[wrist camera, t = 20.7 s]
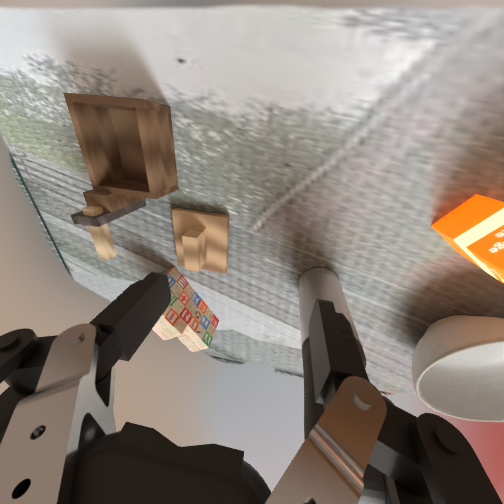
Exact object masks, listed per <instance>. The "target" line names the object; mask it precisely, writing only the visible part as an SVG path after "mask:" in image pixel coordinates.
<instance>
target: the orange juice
mask: <svg viewBox="0 0 504 504" xmlns="http://www.w3.org/2000/svg"><path fill="white" fill-rule="evenodd" d="M431 227H432V228H433V229H434V230H436V231H437V232H438V233H439V234H440V235H441V236H442V237H443V238H444V239H445V240H446V241H447V242H448V243H449V244H450V245H451V246H452V247H453V248H454V249H455V250H456V251H457V252H458V253H459V254H461V255H462V256H464V257H465V258H467V259H468V260H470V261H471V262H473V263H474V264H476V265H477V266H479V267H480V268H481V269H483V270H484V271H485V272H487V273H488V274H490V275H491V276H493V277H494V278H496V279H497V280H499V281H501V282H502V283H504V202H502V201H498V200H495V199H491V198H488V197H485V196H481V195H478V194H476V195H474V196H473V197H471V198H470V199H469V200H467V201H466V202H464V203H463V204H461V205H460V206H459V207H457V208H456V209H454V210H453V211H451V212H450V213H448V214H447V215H446V216H444V217H443V218H441V219H440V220H438V221H437V222H436V223H434V224H433V225H431Z"/></svg>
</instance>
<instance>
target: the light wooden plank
mask: <svg viewBox="0 0 504 504" xmlns="http://www.w3.org/2000/svg"><path fill="white" fill-rule="evenodd" d="M82 211H83V214H84V215H88V216H96V215H99V214H101V213H104V212H103V208H102V207H100V206H93V205H91V206H88V207H85V208H82ZM88 228H89V230H90V233H91V236H92V239H93V242H94V244H95V247H96V250H97V253H98V255H99V258H100V259H104V260H110V259H112V258H113V257H115V256H116V255H117V254H116V251H115V248H114V244H113V241H112V238H111V235H110V231H109V228H108V225H107V223H106V224H104V225H102V226H100V227H94V226H88Z"/></svg>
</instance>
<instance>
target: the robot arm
mask: <svg viewBox="0 0 504 504" xmlns="http://www.w3.org/2000/svg"><path fill="white" fill-rule="evenodd" d="M298 285H299V306H300V325H301V341H302V357H303V369H304V433H305V434H304V435H305V441H304V443H303V444H302V446H301V447H300V449H299V450H298V452H297V454H296V455H295V457H294V459H293V460H292V462H291V463H290V465H289V466H288V468H287V469H286V471H285V473H284V474H283V476H282V477H281V479H280V481H279V482H278V484H277V485H276V487H275V488H274V490H273V491H272V493H271V491H270V489H269V488H268V486H267V484H266V483H265V481H264V480H263V478H262V477H261V476H260V475H259V473H258V472H257V471H256V470H255V469H254V468H253V467H252V466H251V465H250V464H248V463H247V462H245V461H244V460H243V457H244V451H241V450H237V449H233V448H229V447H225V446H221V445H217V444H206V445H196V446H187V447H179V446H177V445H175V444H174V443H172V442H171V441H170V440H169V439H167V438H166V437H164V436H163V435H162V434H160V433H159V432H158V431H156V430H155V429H153V428H149V427H145V426H141V425H137V424H133V423H129V422H126V423H125V425H124V427H123V428H122V430H121V431H119V432H116V425H115V419H114V415H113V400H114V381H115V366H114V365H115V363H116V362H117V361H118V360H119V359H120V360H125V361H129V360H130V359H131V357H132V356H133V354H134V353H135V352H136V350H137V349H138V347H139V346H140V345H141V343H142V342H143V341H144V339H145V338H146V336H147V335H148V334H149V332H150V331H151V330H152V328H153V327H154V325H155V324H156V323H157V321H158V320H159V319H160V317H161V316H162V314H163V313H164V312H165V310H166V309H167V308H168V306H169V304H170V301H171V291H170V286H169V281H168V276H167V275H166V274H161V273H155V272H151V273H150V274H148V275H147V276H146V277H145V278H144V279H143V280H139V281H137V282H136V283H134V284H132V285H130V286H129V287H128V288H127V289H126V290H125V291H124V292H123V293H122V294H120V295H119V296H118V297H117V298H116V300H114V301H113V302H112V303H111V304H110V305H108V306H107V307H106V308H105V309H104V310H103V311H102V312H101V313H100V314H99V315H97V316H96V318H94V319H93V320H92V321H91V322H90V323H89V324H79V325H76V326H73V327H71V328H69V329H67V330H65V331H64V332H62V333H61V334H60V335H57V336H47V337H37V336H36V334H35V333H34V331H33V330H31V329H18V330H14V331H11V332H9V333H6V334H4V335H2V336H0V383H1V382H2V381H5V382H6V383H7V384H8V385H9V386H10V387H8V389H6V390H5V391H4V392H3V393H2V394H1V395H0V504H503V503H502V502H501V500H500V498H499V496H498V494H497V492H496V491H495V489H494V487H493V485H492V483H491V481H490V479H489V478H488V476H487V474H486V472H485V470H484V469H483V467H482V465H481V463H480V461H479V459H478V457H477V456H476V454H475V452H474V450H473V448H472V447H471V445H470V444H469V442H468V441H467V439H466V438H465V437H464V436H463V435H462V433H461V432H460V431H459V430H458V429H457V428H455V427H454V426H453V425H452V424H451V423H449V422H448V421H447V420H445V419H443V418H441V417H440V416H437V415H434V414H431V413H424V414H421V415H420V416H419V417H418V418H417V417H416V416H413V415H411V414H410V413H408V412H406V411H403V410H402V409H400V408H398V407H396V406H395V405H394V404H393V403H392V402H391V401H390V400H389V399H388V398H386V397H385V396H382V395H381V393H380V392H379V391H378V389H377V388H376V387H375V386H374V385H373V384H372V383H370V381H369V379H368V376H367V373H366V370H365V367H366V357H365V354H364V351H363V348H362V345H361V343H360V340H359V337H358V334H357V331H356V328H355V326H354V323H353V320H352V317H351V314H350V311H349V308H348V305H347V302H346V299H345V296H344V293H343V290H342V287H341V284H340V282H339V279H338V277H337V275H336V274H335V273H334V272H333V271H331V270H329V269H326V268H313V269H310V270H308V271H306V272H304V273H303V274H302V275H301V277H300V279H299V282H298Z"/></svg>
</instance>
